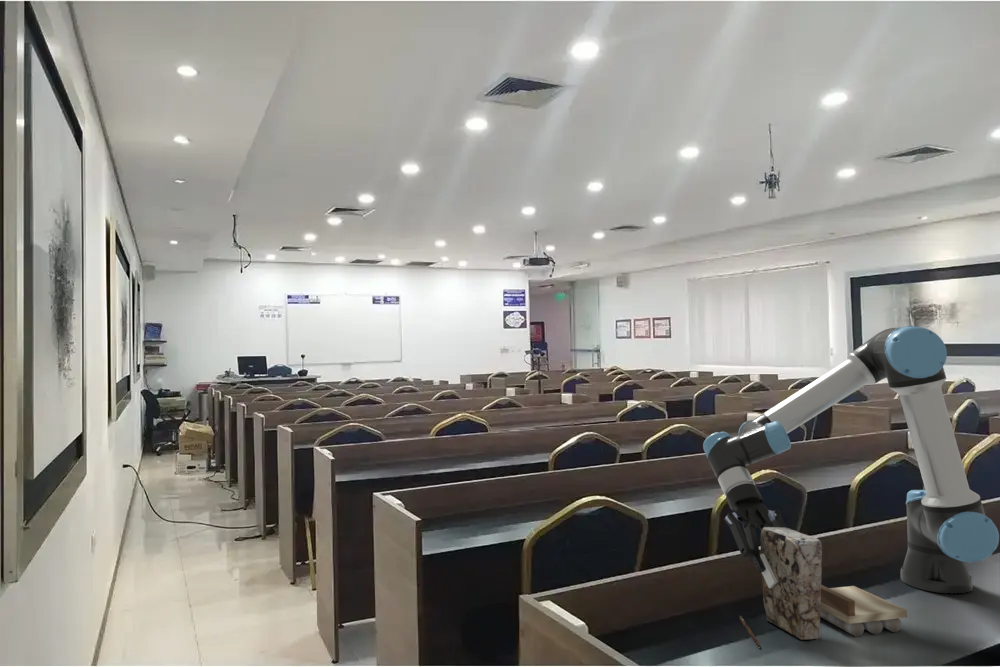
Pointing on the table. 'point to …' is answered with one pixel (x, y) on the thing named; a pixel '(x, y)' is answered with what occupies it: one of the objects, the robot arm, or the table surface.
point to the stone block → (793, 581)
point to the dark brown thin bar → (749, 631)
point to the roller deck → (859, 610)
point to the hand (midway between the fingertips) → (785, 583)
